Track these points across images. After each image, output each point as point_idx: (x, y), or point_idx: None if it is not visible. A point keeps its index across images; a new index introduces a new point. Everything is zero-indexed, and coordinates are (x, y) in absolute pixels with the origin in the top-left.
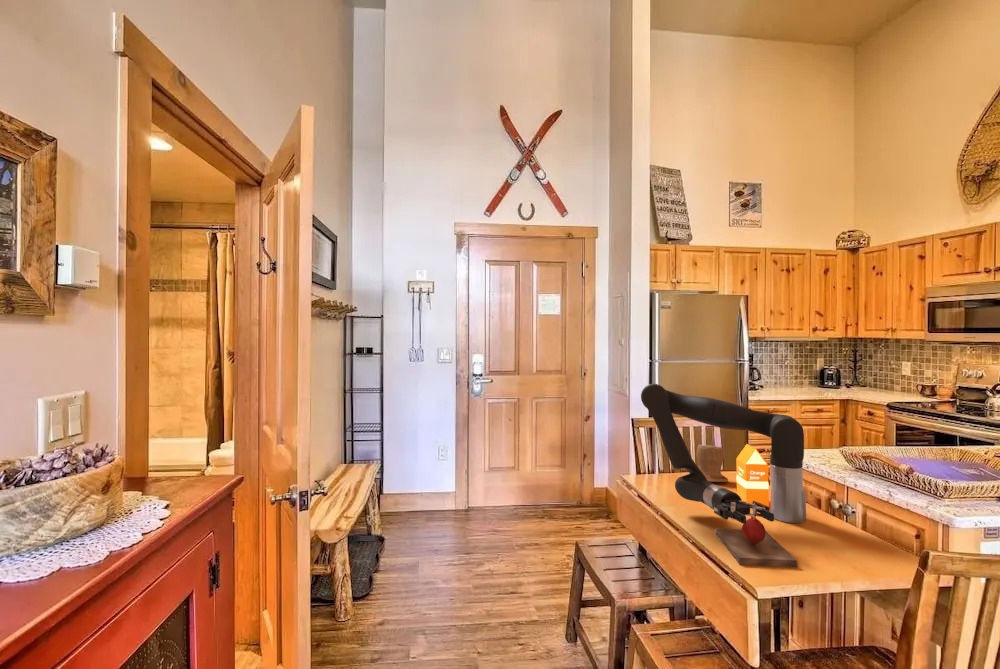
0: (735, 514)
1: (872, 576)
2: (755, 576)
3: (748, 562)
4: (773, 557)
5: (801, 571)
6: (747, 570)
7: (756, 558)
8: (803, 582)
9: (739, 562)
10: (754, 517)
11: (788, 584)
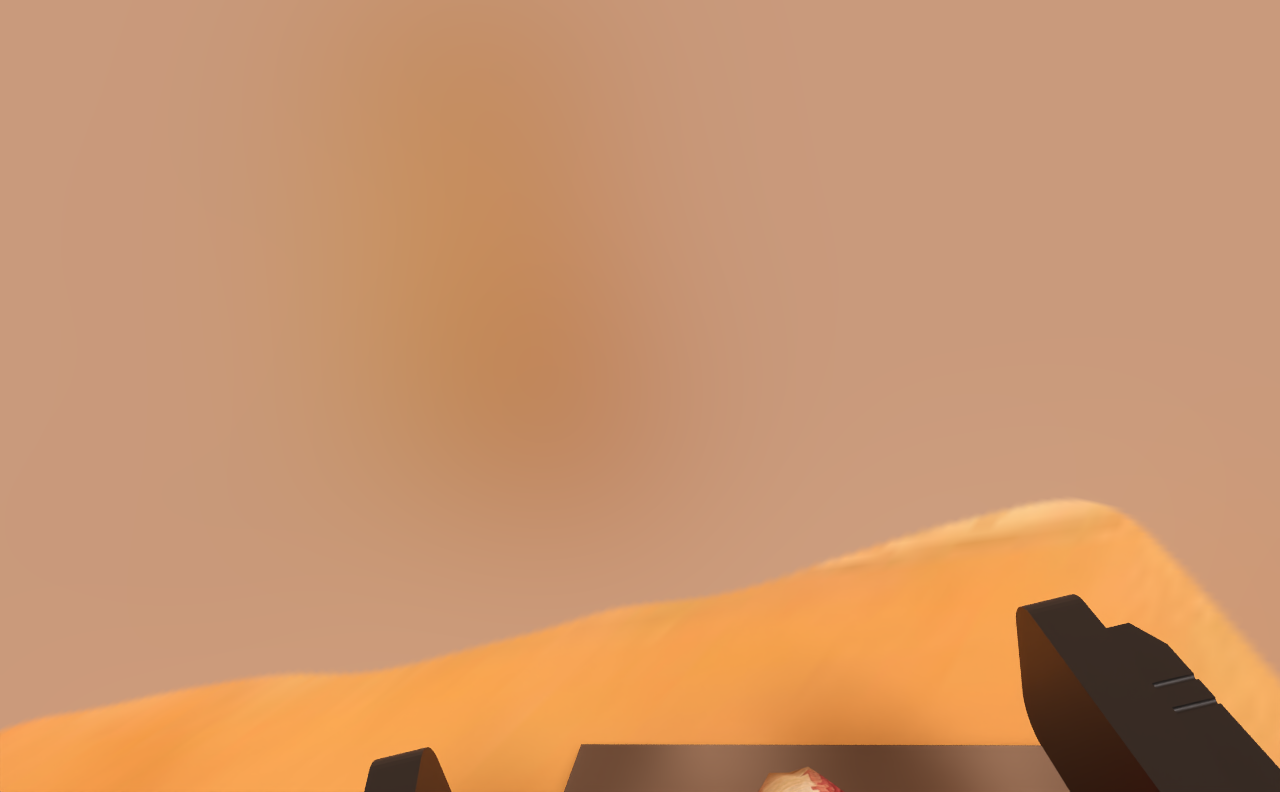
0: (1239, 731)
1: (166, 721)
2: None
3: None
4: None
5: (615, 737)
6: None
7: (997, 747)
8: (726, 597)
9: None
10: (783, 784)
11: (854, 563)
